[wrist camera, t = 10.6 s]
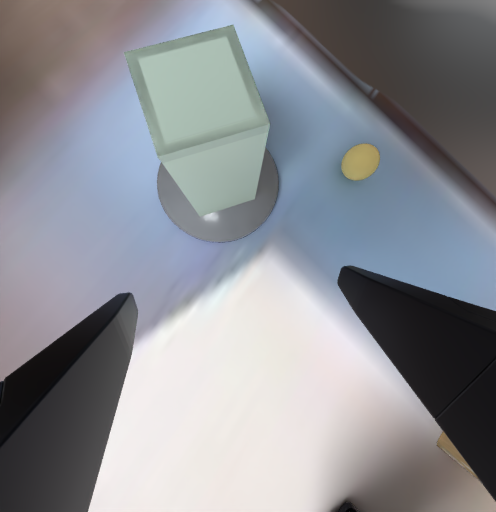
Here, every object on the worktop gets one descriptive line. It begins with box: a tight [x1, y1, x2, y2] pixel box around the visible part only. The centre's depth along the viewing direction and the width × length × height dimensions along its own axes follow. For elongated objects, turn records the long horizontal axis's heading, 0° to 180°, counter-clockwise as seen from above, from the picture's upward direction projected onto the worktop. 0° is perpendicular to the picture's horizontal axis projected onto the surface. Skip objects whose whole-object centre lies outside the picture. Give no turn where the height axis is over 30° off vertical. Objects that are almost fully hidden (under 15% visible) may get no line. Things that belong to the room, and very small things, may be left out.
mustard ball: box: [341, 144, 380, 181], centre depth 18 cm, size 3×3×3 cm
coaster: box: [157, 148, 279, 243], centre depth 18 cm, size 11×11×1 cm
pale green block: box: [124, 25, 270, 217], centre depth 13 cm, size 5×5×9 cm
